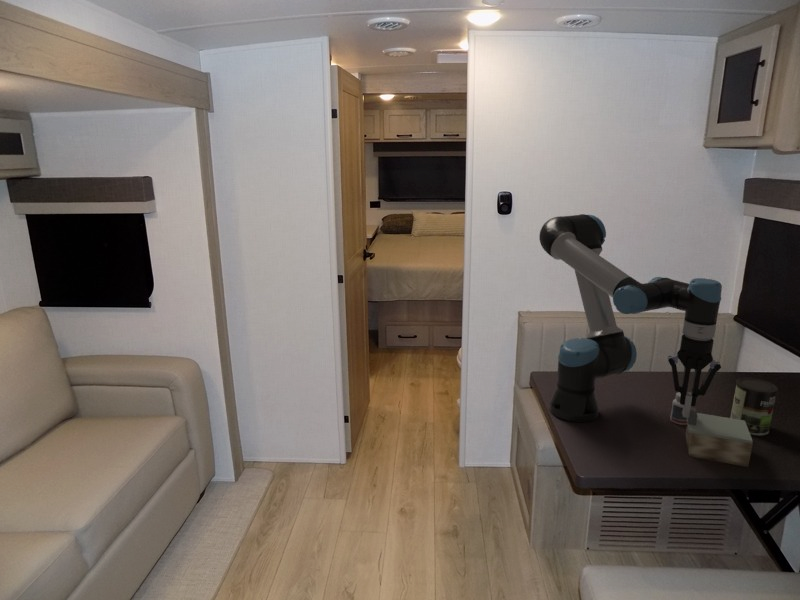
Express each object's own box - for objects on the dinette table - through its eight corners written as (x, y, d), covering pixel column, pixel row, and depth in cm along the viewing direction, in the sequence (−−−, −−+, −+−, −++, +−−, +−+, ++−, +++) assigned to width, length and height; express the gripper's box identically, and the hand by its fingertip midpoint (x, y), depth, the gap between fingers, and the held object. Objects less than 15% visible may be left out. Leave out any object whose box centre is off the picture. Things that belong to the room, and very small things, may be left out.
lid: (689, 432, 142) (691, 420, 141) (685, 413, 153) (687, 401, 152) (752, 443, 137) (754, 430, 136) (744, 423, 147) (746, 410, 146)
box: (688, 455, 144) (692, 433, 142) (685, 436, 154) (688, 415, 152) (748, 467, 139) (752, 443, 137) (740, 446, 149) (745, 424, 147)
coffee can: (777, 431, 156) (786, 388, 152) (754, 438, 152) (763, 394, 148) (743, 416, 165) (751, 374, 161) (721, 422, 161) (728, 380, 158)
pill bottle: (691, 426, 160) (695, 399, 157) (672, 424, 161) (676, 398, 158) (685, 417, 165) (689, 392, 162) (667, 416, 166) (671, 390, 163)
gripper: (671, 337, 140) (660, 416, 146) (728, 344, 135) (713, 426, 141) (670, 329, 146) (659, 405, 153) (723, 335, 141) (710, 413, 148)
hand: (685, 415), depth 147 cm, fingers closed
